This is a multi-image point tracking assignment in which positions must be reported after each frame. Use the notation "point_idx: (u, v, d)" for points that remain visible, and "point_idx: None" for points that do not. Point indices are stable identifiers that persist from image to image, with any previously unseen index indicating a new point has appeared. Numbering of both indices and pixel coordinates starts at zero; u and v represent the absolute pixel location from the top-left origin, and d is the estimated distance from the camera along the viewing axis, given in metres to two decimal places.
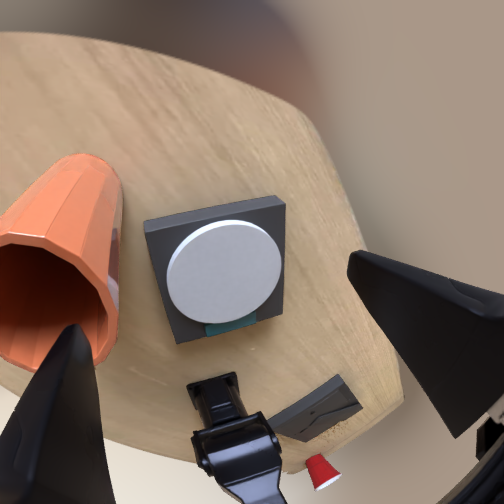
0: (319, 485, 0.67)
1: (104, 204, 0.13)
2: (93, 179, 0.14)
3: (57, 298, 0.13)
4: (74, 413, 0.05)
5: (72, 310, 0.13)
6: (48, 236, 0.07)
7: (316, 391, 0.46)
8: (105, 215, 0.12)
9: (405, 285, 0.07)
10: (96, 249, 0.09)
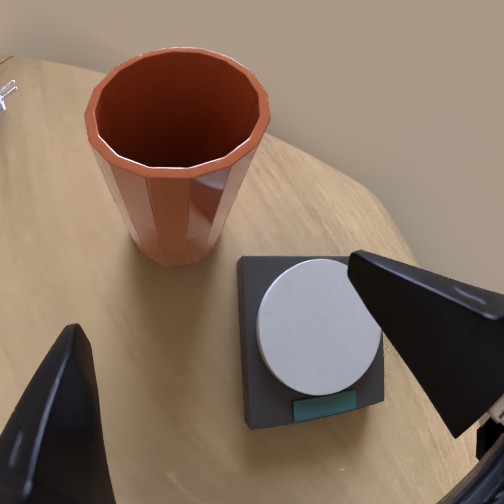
0: None
1: None
2: None
3: None
4: (74, 413, 0.05)
5: None
6: (231, 60, 0.10)
7: None
8: None
9: (405, 285, 0.07)
10: None
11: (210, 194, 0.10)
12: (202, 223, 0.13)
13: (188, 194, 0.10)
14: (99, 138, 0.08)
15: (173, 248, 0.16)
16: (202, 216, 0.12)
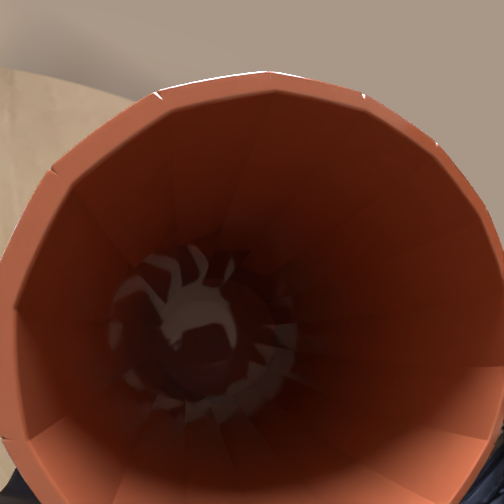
0: None
1: None
2: None
3: (207, 450, 0.06)
4: None
5: (258, 470, 0.05)
6: (435, 150, 0.04)
7: None
8: None
9: None
10: None
11: None
12: None
13: None
14: None
15: None
16: None
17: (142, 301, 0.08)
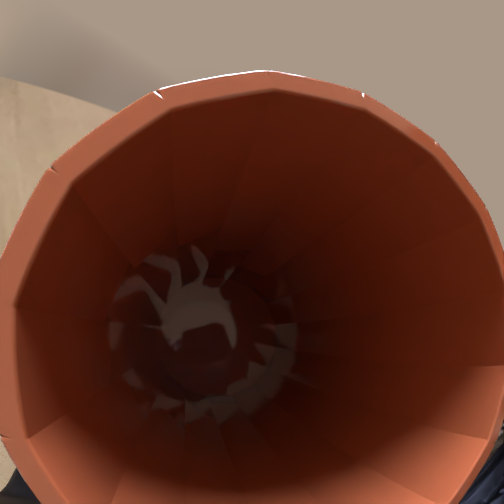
0: None
1: None
2: None
3: (207, 449, 0.06)
4: None
5: (257, 470, 0.05)
6: (435, 148, 0.04)
7: None
8: None
9: None
10: None
11: None
12: None
13: None
14: None
15: None
16: None
17: (142, 300, 0.08)
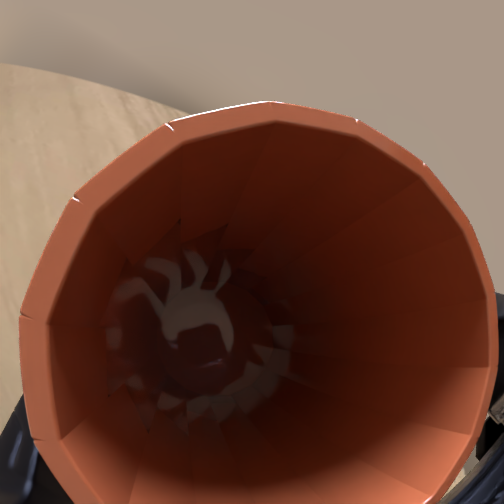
0: None
1: None
2: None
3: (210, 446, 0.07)
4: None
5: (258, 465, 0.06)
6: (422, 169, 0.04)
7: None
8: None
9: None
10: None
11: None
12: None
13: None
14: None
15: None
16: None
17: (146, 306, 0.08)
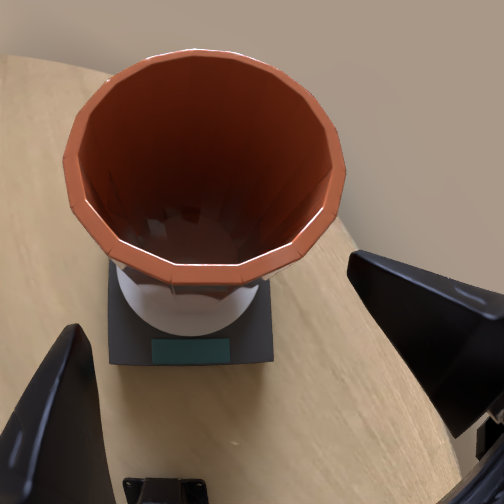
0: None
1: None
2: None
3: None
4: (74, 413, 0.05)
5: None
6: (278, 72, 0.07)
7: None
8: None
9: (405, 285, 0.07)
10: None
11: (259, 281, 0.07)
12: (236, 295, 0.10)
13: (230, 289, 0.07)
14: (87, 205, 0.05)
15: (193, 310, 0.13)
16: (239, 293, 0.09)
17: (132, 194, 0.11)
